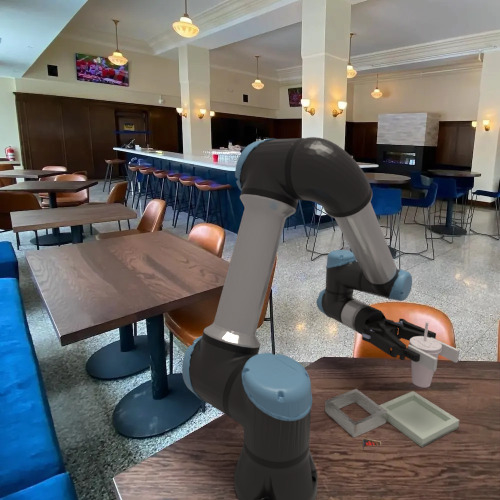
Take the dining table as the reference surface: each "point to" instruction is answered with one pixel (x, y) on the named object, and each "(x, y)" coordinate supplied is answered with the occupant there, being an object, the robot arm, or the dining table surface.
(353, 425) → the square frame
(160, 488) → the dining table surface
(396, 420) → the tray
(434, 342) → the smoothie
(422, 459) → the dining table surface
